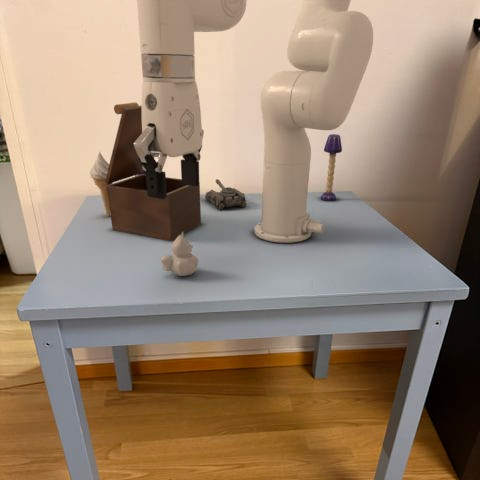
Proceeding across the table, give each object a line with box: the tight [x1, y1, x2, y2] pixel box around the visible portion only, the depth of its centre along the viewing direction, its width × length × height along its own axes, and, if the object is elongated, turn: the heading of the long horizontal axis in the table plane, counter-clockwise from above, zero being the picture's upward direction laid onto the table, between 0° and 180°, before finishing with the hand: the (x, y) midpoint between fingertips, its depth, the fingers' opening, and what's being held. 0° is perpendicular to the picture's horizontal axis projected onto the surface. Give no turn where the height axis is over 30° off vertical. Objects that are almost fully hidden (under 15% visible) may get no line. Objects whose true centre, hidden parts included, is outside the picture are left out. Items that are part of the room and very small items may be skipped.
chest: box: [107, 174, 202, 242], centre depth 101 cm, size 16×13×10 cm
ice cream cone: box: [89, 151, 114, 217], centre depth 106 cm, size 6×6×15 cm
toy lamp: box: [320, 133, 343, 202], centre depth 121 cm, size 5×5×17 cm
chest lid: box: [105, 102, 144, 184], centre depth 96 cm, size 16×13×5 cm
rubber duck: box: [160, 232, 199, 277], centre depth 79 cm, size 5×7×8 cm
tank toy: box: [204, 178, 247, 211], centre depth 119 cm, size 12×10×5 cm
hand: (174, 191), depth 73 cm, fingers open, 9 cm apart
